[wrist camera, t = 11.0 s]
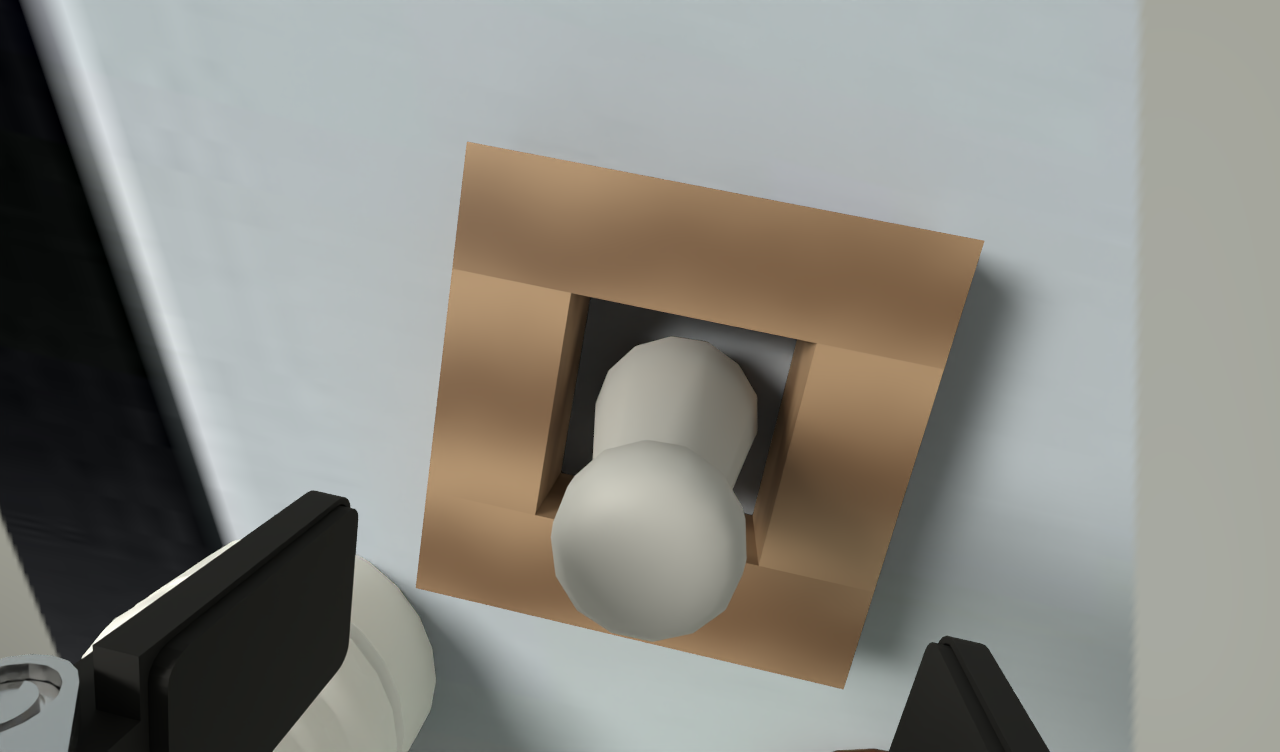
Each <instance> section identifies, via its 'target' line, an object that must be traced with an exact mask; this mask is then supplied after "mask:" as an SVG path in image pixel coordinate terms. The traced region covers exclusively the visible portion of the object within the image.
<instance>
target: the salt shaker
mask: <svg viewBox="0 0 1280 752" xmlns="http://www.w3.org/2000/svg"><path fill="white" fill-rule="evenodd" d="M757 432H758V429H757V395H756V393H755V392H754V390H753V388H752V387H751V385H750V383H749V381H748V380H747V378H746V376H745V375H744V373H743V371H742V369H741V368H740V366H739V364H737V363H736V362H735V361H733V360H732V359H731V358H729V357H728V356H726V355H725V354H724V353H722V352H721V351H720V350H718V349H717V348H715V347H714V346H713V345H711V344H710V343H709V342H706V341H700V340H693V339H687V338H681V337H674V336H670V337H666V338H663V339H659V340H655V341H652V342H648V343H645V344H641V345H637V346H635V347H634V348H633V349H632V350H631V351H630V352H628V353H627V354H626V355H625V356H624V357H623V358H622V359H621V360H620V361H619V362H617V363H616V364H615V365H614V366H613V367H612V368H611V369H610V370H609V371H608V373H607V376H606V378H605V381H604V383H603V386H602V388H601V391H600V393H599V396H598V398H597V401H596V407H595V426H594V445H593V460H592V461H591V462H590V463H589V464H588V465H587V466H585V467H584V468H583V469H582V470H581V471H580V472H579V473H578V474H576V475H575V476H574V478H573V479H572V481H571V482H570V484H569V485H568V487H567V489H566V492H565V494H564V497H563V499H562V502H561V504H560V507H559V509H558V511H557V514H556V516H555V519H554V521H553V525H552V532H551V543H552V551H553V559H554V567H555V574H556V577H557V579H558V581H559V582H560V584H561V585H562V587H563V589H564V590H565V592H566V593H567V595H568V597H569V598H570V600H571V602H572V603H573V605H574V606H575V608H576V610H577V611H579V612H580V613H582V614H583V615H585V616H586V617H588V618H589V619H591V620H593V621H594V622H596V623H597V624H599V625H600V626H602V627H603V628H605V629H606V630H608V631H609V632H611V633H614V634H618V635H623V636H628V637H632V638H637V639H642V640H646V641H651V642H654V641H659V640H664V639H668V638H673V637H678V636H683V635H687V634H692V633H694V632H696V631H697V630H698V629H700V628H701V627H703V626H704V625H705V624H707V623H708V622H710V621H711V620H712V619H714V618H715V617H717V616H718V615H719V614H721V613H722V612H723V611H725V610H726V608H727V606H728V604H729V602H730V600H731V598H732V596H733V594H734V591H735V589H736V587H737V585H738V583H739V581H740V579H741V577H742V575H743V571H744V567H745V564H746V560H747V557H746V522H745V515H744V511H743V508H742V505H741V504H740V502H739V500H738V499H737V497H736V495H735V493H734V492H733V487H734V485H735V483H736V480H737V478H738V476H739V473H740V471H741V468H742V466H743V464H744V461H745V459H746V457H747V455H748V452H749V450H750V448H751V445H752V443H753V441H754V439H755V436H756V434H757Z"/></svg>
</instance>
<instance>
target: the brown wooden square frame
mask: <svg viewBox="0 0 1280 752" xmlns="http://www.w3.org/2000/svg"><path fill="white" fill-rule="evenodd" d="M983 244H984V241H982V240H977V239H972V238H967V237H961V236H956V235H951V234H946V233H941V232H935V231H930V230H925V229H920V228H914V227H909V226H904V225H899V224H894V223H888V222H883V221H878V220H873V219H868V218H862V217H857V216H852V215H847V214H841V213H836V212H831V211H826V210H821V209H815V208H810V207H805V206H800V205H795V204H789V203H784V202H779V201H774V200H768V199H763V198H758V197H753V196H748V195H742V194H737V193H732V192H727V191H722V190H716V189H711V188H706V187H701V186H695V185H690V184H685V183H680V182H675V181H669V180H664V179H659V178H654V177H648V176H643V175H638V174H633V173H628V172H622V171H617V170H612V169H607V168H602V167H596V166H591V165H586V164H581V163H575V162H570V161H565V160H560V159H555V158H549V157H544V156H539V155H534V154H529V153H523V152H518V151H513V150H508V149H502V148H497V147H492V146H487V145H482V144H476V143H471V142H467V146H466V154H465V163H464V172H463V181H462V189H461V198H460V207H459V215H458V224H457V233H456V242H455V250H454V259H453V268H452V276H451V285H450V294H449V303H448V311H447V320H446V329H445V338H444V346H443V355H442V364H441V372H440V381H439V390H438V399H437V407H436V416H435V425H434V433H433V442H432V451H431V460H430V468H429V477H428V486H427V494H426V503H425V512H424V521H423V529H422V538H421V547H420V555H419V564H418V573H417V582H416V588H418V589H423V590H427V591H431V592H435V593H439V594H444V595H448V596H452V597H456V598H461V599H465V600H469V601H473V602H477V603H482V604H486V605H490V606H494V607H499V608H503V609H507V610H511V611H515V612H520V613H524V614H528V615H532V616H537V617H541V618H545V619H549V620H553V621H558V622H562V623H566V624H570V625H574V626H579V627H583V628H587V629H591V630H596V631H600V632H604V633H608V634H612V635H617V636H621V637H625V638H629V639H634V640H638V641H642V642H646V643H650V644H655V645H659V646H663V647H667V648H672V649H676V650H680V651H684V652H688V653H693V654H697V655H701V656H705V657H710V658H714V659H718V660H722V661H726V662H731V663H735V664H739V665H743V666H748V667H752V668H756V669H760V670H764V671H769V672H773V673H777V674H781V675H786V676H790V677H794V678H798V679H802V680H807V681H811V682H815V683H819V684H823V685H828V686H832V687H836V688H840V689H844V686H845V683H846V680H847V676H848V673H849V670H850V667H851V664H852V661H853V657H854V654H855V651H856V648H857V645H858V641H859V638H860V635H861V632H862V629H863V626H864V622H865V619H866V616H867V613H868V610H869V606H870V603H871V600H872V597H873V594H874V591H875V587H876V584H877V581H878V578H879V575H880V571H881V568H882V565H883V562H884V559H885V556H886V552H887V549H888V546H889V543H890V540H891V536H892V533H893V530H894V527H895V524H896V521H897V517H898V514H899V511H900V508H901V505H902V502H903V498H904V495H905V492H906V489H907V486H908V482H909V479H910V476H911V473H912V470H913V467H914V463H915V460H916V457H917V454H918V451H919V447H920V444H921V441H922V438H923V435H924V432H925V428H926V425H927V422H928V419H929V416H930V412H931V409H932V406H933V403H934V400H935V397H936V393H937V390H938V387H939V384H940V381H941V377H942V374H943V371H944V368H945V365H946V362H947V358H948V355H949V352H950V349H951V346H952V342H953V339H954V336H955V333H956V330H957V327H958V323H959V320H960V317H961V314H962V311H963V307H964V304H965V301H966V298H967V295H968V292H969V288H970V285H971V282H972V279H973V276H974V272H975V269H976V266H977V263H978V260H979V257H980V253H981V250H982V247H983ZM590 297H593V298H598V299H603V300H608V301H613V302H618V303H622V304H627V305H632V306H637V307H642V308H647V309H652V310H657V311H662V312H666V313H671V314H676V315H681V316H686V317H691V318H696V319H701V320H706V321H710V322H715V323H720V324H725V325H730V326H735V327H740V328H745V329H750V330H754V331H759V332H764V333H769V334H774V335H779V336H784V337H789V338H794V339H797V342H796V346H795V350H794V354H793V358H792V362H791V365H790V369H789V373H788V377H787V381H786V385H785V389H784V393H783V397H782V401H781V405H780V409H779V413H778V417H777V421H776V425H775V429H774V433H773V437H772V441H771V445H770V448H769V452H768V456H767V460H766V464H765V468H764V472H763V476H762V480H761V484H760V488H759V492H758V496H757V500H756V504H755V508H754V512H753V515H749V514H744V515H745V522H746V557H747V560H746V564H745V567H744V571H743V575H742V577H741V579H740V581H739V583H738V585H737V587H736V589H735V591H734V594H733V596H732V598H731V600H730V602H729V604H728V606H727V608H726V610H725V611H723V612H722V613H721V614H719V615H718V616H717V617H715V618H714V619H712V620H711V621H710V622H708V623H707V624H705V625H704V626H703V627H701V628H700V629H698V630H697V631H696V632H694V633H692V634H687V635H683V636H678V637H673V638H668V639H664V640H659V641H654V642H651V641H646V640H642V639H637V638H632V637H628V636H623V635H618V634H614V633H611V632H609V631H608V630H606V629H605V628H603V627H602V626H600V625H599V624H597V623H596V622H594V621H593V620H591V619H589V618H588V617H586V616H585V615H583V614H582V613H580V612H579V611H577V610H576V608H575V606H574V605H573V603H572V602H571V600H570V598H569V597H568V595H567V593H566V592H565V590H564V589H563V587H562V585H561V584H560V582H559V581H558V579H557V577H556V574H555V567H554V559H553V551H552V543H551V532H552V525H553V521H554V519H555V516H556V514H557V511H558V509H559V507H560V504H561V502H562V499H563V497H564V494H565V492H566V489H567V487H568V485H569V484H570V482H571V481H572V479H573V478H574V476H573V475H569V474H564V473H561V469H562V463H563V457H564V451H565V445H566V439H567V433H568V427H569V421H570V415H571V409H572V404H573V398H574V392H575V386H576V380H577V374H578V368H579V362H580V356H581V350H582V344H583V339H584V333H585V327H586V321H587V315H588V309H589V303H590Z"/></svg>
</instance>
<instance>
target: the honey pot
mask: <svg viewBox="0 0 1280 752" xmlns="http://www.w3.org/2000/svg"><path fill="white" fill-rule="evenodd" d="M240 540H241V539H240ZM240 540H236V541H233V542H231V543H229V544H228V545H226V546H224V547H223V548H221V549H220V550H218V551H216V552H215V553H213V554H211V555H210V556H208V557H207V558H205V559H204V560H202V561H201V562H199V563H198V564H196V565H195V566H193V567H192V568H190V569H189V570H187V571H186V572H184V573H183V574H181V575H180V576H178V577H177V578H175V579H174V580H172V581H171V582H169V583H168V584H166V585H165V586H163V587H162V588H160V589H159V590H157V591H156V592H154V593H153V594H151V595H150V596H149V597H148V598H146V599H145V600H143V601H141V602H140V603H138V604H137V605H135V607H134V608H132V609H130V610H129V611H127V612H125V613H124V614H122V615H121V616H119V617H117V618H116V619H114V620H113V621H112V622H111V623H110V624H109V625H108V626H107V627H106V628H105V629H104V630H103V632H102V633H101V634H100V635H99V637H98V638H97V639H96V640H95V642H94V643H93V644H95V643H96V642H98V641H99V640H100V639H102V638H103V637H105V636H106V635H107V634H109V633H110V632H112V631H113V630H114V629H116V628H117V627H119V626H120V625H122V624H123V623H124V622H126V621H127V620H129V619H130V618H131V617H133V616H134V615H136V614H137V613H138V612H140V611H141V610H143V609H144V608H145V607H147V606H148V605H150V604H151V603H152V602H154V601H155V600H157V599H158V598H160V597H161V596H162V595H164V594H165V593H167V592H168V591H169V590H171V589H172V588H174V587H175V586H176V585H178V584H179V583H181V582H182V581H183V580H185V579H186V578H188V577H189V576H191V575H192V574H193V573H195V572H196V571H198V570H199V569H200V568H202V567H203V566H205V565H206V564H207V563H209V562H210V561H212V560H213V559H214V558H216V557H217V556H219V555H220V554H221V553H223V552H224V551H226V550H227V549H229V548H230V547H231V546H233V545H234V544H236V543H237V542H238V541H240ZM93 644H92V645H93ZM92 645H91V647H90V648H89V649H88V650H87V652H86V653H85V654H84V655H83V657H82V658H84V657H85V656H87V655H88V654H89V653H91V652H92V651H93V647H92ZM435 684H436V675H435V667H434V659H433V650H432V646H431V644H430V642H429V639H428V637H427V634H426V632H425V629H424V627H423V624H422V622H421V619H420V617H419V615H418V614H417V613H416V611H415V610H414V608H413V607H412V606H411V604H410V603H409V602H408V600H407V599H406V597H405V596H404V595H403V593H402V592H401V591H400V589H399V588H398V586H396V585H395V584H394V583H393V582H392V581H391V580H390V579H388V578H387V577H386V576H385V575H384V574H383V573H381V572H380V571H379V570H378V569H377V568H376V567H375V566H373V565H372V564H371V563H370V562H369V561H367V560H365V559H363V558H361V557H359V556H358V555H355V568H354V582H353V595H352V609H351V622H350V636H349V646H348V651H347V655H346V657H345V660H344V662H343V664H342V666H341V667H340V669H339V670H338V671H337V673H336V674H335V675H334V676H333V678H332V679H331V680H330V681H329V683H328V684H327V685H326V686H325V687H324V689H323V690H322V691H321V692H320V694H319V695H318V696H317V697H316V699H315V700H314V701H313V702H312V703H311V705H310V706H309V707H308V708H307V710H306V711H305V712H304V713H303V715H302V716H301V717H300V718H299V720H298V721H297V722H296V723H295V724H294V726H293V727H292V728H291V729H290V731H289V732H288V733H287V734H286V736H285V737H284V738H283V739H282V740H281V742H280V743H279V744H278V745H277V747H276V748H275V749H274V750H273V752H408V750H409V749H410V747H411V745H412V744H413V742H414V740H415V738H416V737H417V735H418V733H419V731H420V729H421V727H422V726H423V724H424V722H425V720H426V718H427V716H428V714H429V713H430V711H431V706H432V701H433V695H434V690H435Z"/></svg>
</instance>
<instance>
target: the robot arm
mask: <svg viewBox="0 0 1280 752" xmlns="http://www.w3.org/2000/svg"><path fill="white" fill-rule="evenodd" d="M357 528H358V513H357V511H356V510H355V509H352V508H350V503H349V500H348V499H347V498H345V497H340V496H336V495H332V494H327V493H323V492H319V491H310V492H308V493H306V494H305V495H303V496H302V497H300V498H299V499H298V500H296V501H295V502H293V503H292V504H290V505H289V506H288V507H286V508H285V509H283V510H282V511H281V512H279V513H278V514H276V515H275V516H274V517H272V518H271V519H269V520H268V521H267V522H265V523H264V524H262V525H261V526H259V527H258V528H257V529H255V530H254V531H252V532H251V533H250V534H248V535H247V536H245V537H244V538H243V539H241V540H240V541H238V542H237V543H236V544H234V545H233V546H231V547H230V548H229V549H227V550H226V551H224V552H223V553H221V554H220V555H219V556H217V557H216V558H214V559H213V560H212V561H210V562H209V563H207V564H206V565H205V566H203V567H202V568H200V569H199V570H198V571H196V572H195V573H193V574H192V575H191V576H189V577H188V578H186V579H185V580H183V581H182V582H181V583H179V584H178V585H176V586H175V587H174V588H172V589H171V590H169V591H168V592H167V593H165V594H164V595H162V596H161V597H160V598H158V599H157V600H155V601H154V602H152V603H151V604H150V605H148V606H147V607H145V608H144V609H143V610H141V611H140V612H138V613H137V614H136V615H134V616H133V617H131V618H130V619H129V620H127V621H126V622H124V623H123V624H122V625H120V626H119V627H117V628H116V629H114V630H113V631H112V632H110V633H109V634H107V635H106V636H105V637H103V638H102V639H100V640H99V641H98V642H96V643H95V644H93V645H92V647H93V651H92V652H91V653H89V654H88V655H87V656H85V657H84V658H82V659H81V660H80V661H78V662H77V663H75V664H74V665H72V664H71V663H70V662H69V661H67V660H64V659H61V658H58V657H55V656H49V655H36V654H30V655H21V656H12V657H6V658H2V659H0V752H273V750H274V749H275V748H276V747H277V745H278V744H279V743H280V742H281V740H282V739H283V738H284V737H285V736H286V734H287V733H288V732H289V731H290V729H291V728H292V727H293V726H294V724H295V723H296V722H297V721H298V720H299V718H300V717H301V716H302V715H303V713H304V712H305V711H306V710H307V708H308V707H309V706H310V705H311V703H312V702H313V701H314V700H315V699H316V697H317V696H318V695H319V694H320V692H321V691H322V690H323V689H324V687H325V686H326V685H327V684H328V683H329V681H330V680H331V679H332V678H333V676H334V675H335V674H336V673H337V671H338V670H339V669H340V667H341V666H342V664H343V662H344V660H345V657H346V655H347V651H348V646H349V636H350V622H351V609H352V595H353V582H354V568H355V555H356V542H357ZM889 752H1050V751H1049V749H1048V748H1047V746H1046V744H1045V743H1044V741H1043V739H1042V738H1041V736H1040V734H1039V733H1038V731H1037V729H1036V728H1035V726H1034V724H1033V723H1032V721H1031V719H1030V718H1029V716H1028V714H1027V713H1026V711H1025V709H1024V707H1023V706H1022V704H1021V702H1020V701H1019V699H1018V697H1017V696H1016V694H1015V692H1014V691H1013V689H1012V687H1011V686H1010V684H1009V682H1008V681H1007V679H1006V677H1005V676H1004V674H1003V672H1002V671H1001V669H1000V667H999V666H998V664H997V662H996V661H995V659H994V657H993V656H992V654H991V652H990V650H989V649H988V648H987V647H986V646H985V645H983V644H980V643H976V642H972V641H967V640H963V639H958V638H954V637H950V636H945V637H943V638H942V639H941V640H940V641H939V643H933V642H932V643H930V644H929V645H928V646H927V648H926V650H925V653H924V655H923V658H922V661H921V664H920V666H919V669H918V672H917V675H916V678H915V680H914V683H913V686H912V689H911V691H910V694H909V697H908V700H907V703H906V705H905V708H904V711H903V714H902V716H901V719H900V722H899V725H898V728H897V730H896V733H895V736H894V739H893V741H892V744H891V747H890V750H889Z"/></svg>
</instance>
